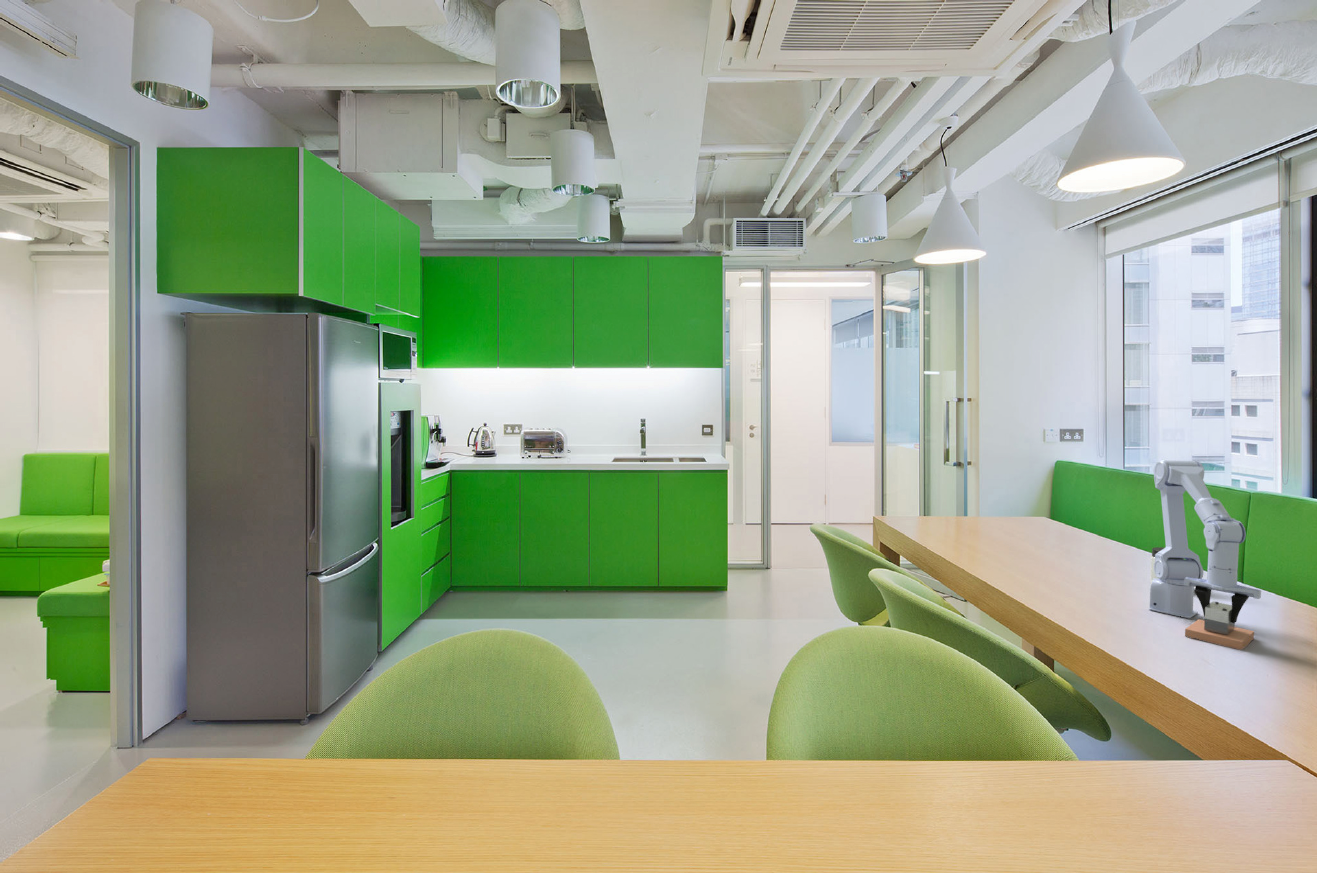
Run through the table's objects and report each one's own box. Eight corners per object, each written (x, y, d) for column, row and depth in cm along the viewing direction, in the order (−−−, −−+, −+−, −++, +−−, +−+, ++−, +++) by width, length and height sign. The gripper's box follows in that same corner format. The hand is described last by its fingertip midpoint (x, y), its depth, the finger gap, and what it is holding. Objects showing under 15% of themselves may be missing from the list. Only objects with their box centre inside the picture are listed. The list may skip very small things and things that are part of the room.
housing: (1211, 623, 164) (1212, 600, 163) (1234, 628, 160) (1235, 604, 160) (1204, 629, 160) (1205, 606, 159) (1227, 635, 156) (1228, 610, 156)
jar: (1156, 588, 202) (1157, 552, 202) (1144, 581, 210) (1146, 546, 209) (1189, 590, 200) (1190, 553, 199) (1176, 583, 207) (1178, 548, 207)
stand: (1184, 636, 161) (1185, 629, 161) (1198, 626, 168) (1198, 619, 168) (1242, 650, 152) (1242, 642, 152) (1253, 638, 159) (1254, 631, 159)
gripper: (1181, 563, 163) (1179, 614, 163) (1257, 576, 151) (1254, 630, 152) (1189, 559, 167) (1187, 609, 168) (1264, 571, 155) (1261, 624, 156)
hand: (1220, 619), depth 160 cm, fingers open, 5 cm apart
